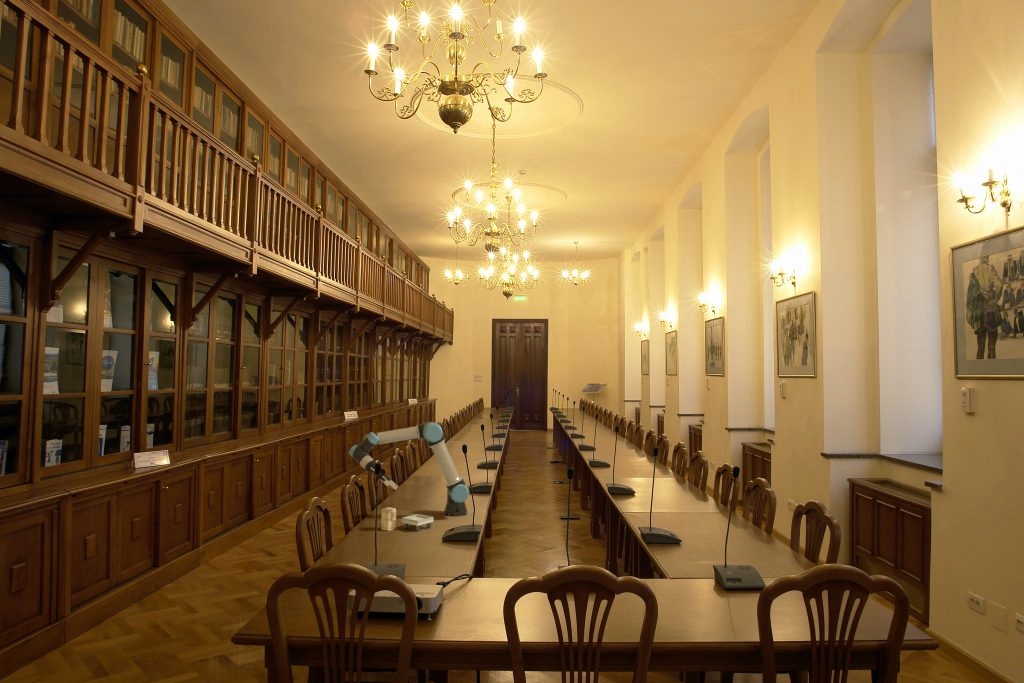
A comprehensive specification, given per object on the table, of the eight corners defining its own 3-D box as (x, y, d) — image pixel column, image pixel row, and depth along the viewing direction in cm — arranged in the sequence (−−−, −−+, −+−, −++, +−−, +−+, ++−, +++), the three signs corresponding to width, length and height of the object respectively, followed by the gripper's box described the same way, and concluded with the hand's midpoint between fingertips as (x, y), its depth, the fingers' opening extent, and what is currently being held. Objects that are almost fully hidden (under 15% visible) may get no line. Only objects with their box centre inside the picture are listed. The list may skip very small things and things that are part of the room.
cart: (417, 524, 404) (417, 513, 404) (433, 527, 396) (433, 516, 396) (401, 528, 393) (401, 517, 393) (417, 531, 385) (417, 520, 386)
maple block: (388, 527, 396) (389, 507, 397) (395, 529, 393) (396, 508, 393) (381, 529, 391) (381, 508, 392) (388, 531, 388) (388, 510, 388)
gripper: (372, 472, 419) (395, 494, 411) (357, 465, 396) (381, 488, 388) (380, 463, 420) (403, 484, 412) (365, 455, 397) (390, 478, 389)
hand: (392, 486), depth 400 cm, fingers open, 13 cm apart
